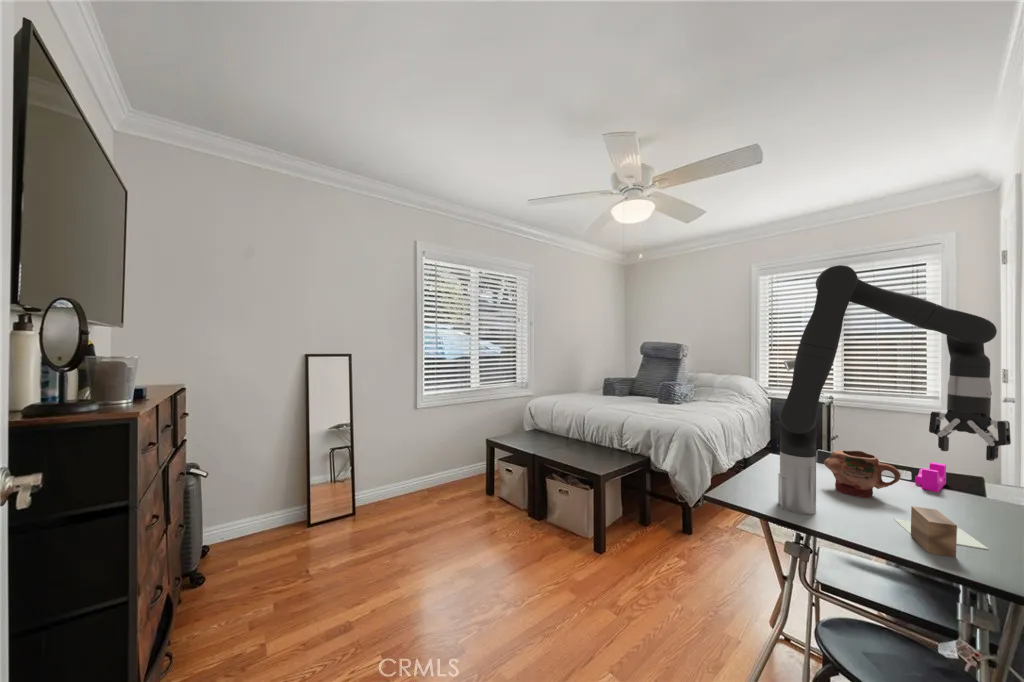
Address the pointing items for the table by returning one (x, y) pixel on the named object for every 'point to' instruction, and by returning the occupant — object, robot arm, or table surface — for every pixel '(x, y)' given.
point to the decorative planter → (858, 472)
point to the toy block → (932, 477)
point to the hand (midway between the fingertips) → (966, 455)
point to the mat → (962, 536)
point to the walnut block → (933, 531)
